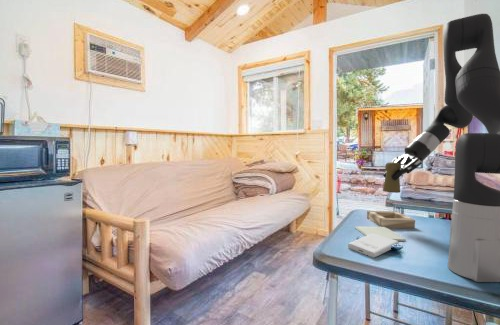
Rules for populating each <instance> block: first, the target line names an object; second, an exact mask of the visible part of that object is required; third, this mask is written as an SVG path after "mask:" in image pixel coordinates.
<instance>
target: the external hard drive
mask: <svg viewBox="0 0 500 325" xmlns="http://www.w3.org/2000/svg"><path fill="white" fill-rule="evenodd" d="M399 242H400V241H396V240H393V239H390V238H387V237H384V236H380V235H377V234H374V233H372V234H370V235H367V236H365V235H364V236H363V237H360V238H358V239H356V240H353V241H351V242H349V243H347V248H348V249H350V250H353V251H355V252H358V253H360V254H362V255H366V256H367V255H368V257H370V258H376V257H378V256H380V255H383V254H385V253H387V252H389V251H390V250H392V249H391V246H392V245H394V244H398V245H399Z"/></svg>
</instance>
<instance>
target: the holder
mask: <svg viewBox="0 0 500 325" xmlns="http://www.w3.org/2000/svg"><path fill="white" fill-rule="evenodd" d="M366 219H367V220H369V219H370V220H369V221H372V222H373V224H376V225H378V227H386V228H388V229H391V228H393V229H394V228H395V229H396V228H398V229H406V228H407V229H416V228H415V227H416V219H414V218H412V217H409V216H408V215H406V214H403V213H401V212H398V211H397V210H396V211H395V210H393V211H392V210H367V212H366Z"/></svg>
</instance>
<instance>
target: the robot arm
mask: <svg viewBox="0 0 500 325" xmlns="http://www.w3.org/2000/svg"><path fill="white" fill-rule="evenodd" d="M442 45H443V48H442V49H443V62H444V63H443V64H444V65H443V66H444V75H445V76H444V77H445V88H444V104H445V105H444V106H442V107H441V108H440V109H439V110H438V112H437V114H436V116H435V118H434V119H433V120H432V122H431V124H430V125H429V126H428V127H427V128H426V129H425V130H424V131H423V132H421V133H420V134H419V135H417V136H416V137H415V138H414V139H413V140H412V141H411V142H410V143H409V144H407V145H406V147H404V154H402V155H401V156H398V155H396V156H395V157H394V158H393V159H392V160H391V161H390V162H395V163H399V164H400V165H401V166H400V168H399V170H397V171H396V172H395V173H393V174H392V175H391V178H392V179H393V180H395V181H396V180H397V179H398V178H399V179H400V177H401V176H403V175H404V174H410V173H411V172H413V171H414V170H415V169H417V168H418V167H419V166H421V165H422V164H423V161H424V160H425V159H426V158H427V157H428V156H430V155H431V154H433V152H434V151H435V150H436V149H437V148H438V147H439V145H441V143H443V142H444V141H445V139H446V140H447V138H448V137H449V136H450V135H451V134H450V133H451V131H450V129H449V127H447V125H448V126H451V127H453V128H456V129H463V128H466V127H468V126H470V124H471V122H472V120H473V118H475V119H477V120H478V121H479V122H480V123H481V124H482V125H483V126H484V128H485V129H486V130H487V132H475V133H474V132H470V133H468V132H467V133H463V134H461V135H460V136H459V137H458V138H457V141H456V145H455V151H454V180H453V183H454V184H453V196H452V197H453V198H452V199H453V201H452V211H451V221H450V234H449V244H448V246H449V247H448V258H447V268H448V269H449V270H450V271H452V272H453V273H454V274H456V275H459V276H461V277H464V278H466V279H469V280H472V281H474V282H475V283H476V282H477V283H500V190H499V189H496V188H494V187H490V186H488V185H485V184H483V183H482V182H480V181H478V180H477V178H476V174H477V173H478V174H481V173H482V174H492V175H493V174H495V175H497V174H498V175H500V65H499V63H498V59H497V54H496V48H495V39H494V27H493V21H492V17H491V16H490V15H489V14H488V13H479V14H474V15H469V16H465V17H461V18H455V19H453V20H450V21H448V22H446V24H445V27H444V30H443V43H442ZM472 49H476V50H475V51H474V53H473V55H472V56H471V57H470V58H469V59H468V60H467V61H466V62H465V63H464V64H463V65H461V64H460V63H459V61H458V59H457V56H456V53H457V52H460V51H461V52H462V51H466V50H467V51H468V50H472ZM386 172H387V171H386V170H385V172H384V173H382V176H383V177H384V178H385V177H386Z"/></svg>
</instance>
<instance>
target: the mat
mask: <svg viewBox="0 0 500 325" xmlns="http://www.w3.org/2000/svg"><path fill="white" fill-rule="evenodd" d="M354 228H355V230H357V231H358V232H359V233H361V234H362V235H364V237H365V236H367V235H370V234H372V233H374V234H377V235H380V236H384V237H387V238H390V239H393V240H396V241H398V242H406V241H407V239H406V238H405V237H403V236H401V235H400V234H398V233H396V232H395V231H393V230H391V228H386V227H381V226H359V225H358V226H354Z"/></svg>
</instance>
